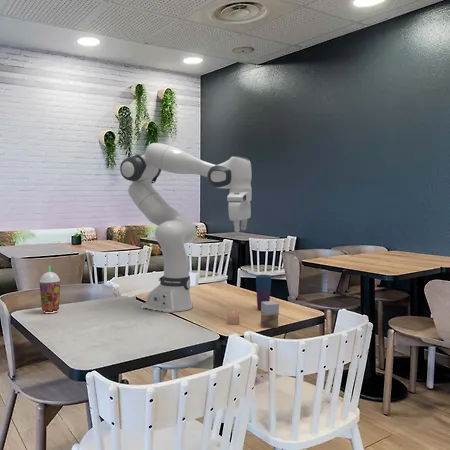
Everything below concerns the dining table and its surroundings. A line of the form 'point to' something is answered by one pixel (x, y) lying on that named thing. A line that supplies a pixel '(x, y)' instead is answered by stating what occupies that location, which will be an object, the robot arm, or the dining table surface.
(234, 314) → the orange brown block
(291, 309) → the dining table surface
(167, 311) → the robot arm
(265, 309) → the tower top block
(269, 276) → the cup
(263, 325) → the tower base
